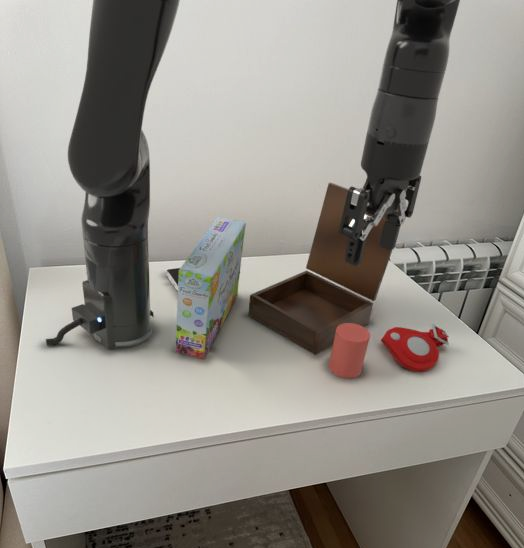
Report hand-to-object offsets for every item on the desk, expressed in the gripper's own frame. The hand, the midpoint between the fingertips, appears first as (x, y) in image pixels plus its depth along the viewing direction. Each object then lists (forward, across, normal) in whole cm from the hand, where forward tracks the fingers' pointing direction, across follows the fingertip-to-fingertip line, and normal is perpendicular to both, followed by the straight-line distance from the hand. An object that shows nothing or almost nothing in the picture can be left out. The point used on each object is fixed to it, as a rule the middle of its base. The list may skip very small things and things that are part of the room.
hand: (369, 255), depth 74 cm
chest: (+20, -7, -13) cm, 25 cm away
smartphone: (+20, +2, -33) cm, 39 cm away
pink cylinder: (+20, 0, 0) cm, 20 cm away
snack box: (+20, +8, -23) cm, 31 cm away
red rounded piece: (+20, -13, +6) cm, 25 cm away
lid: (+7, -16, -13) cm, 22 cm away
